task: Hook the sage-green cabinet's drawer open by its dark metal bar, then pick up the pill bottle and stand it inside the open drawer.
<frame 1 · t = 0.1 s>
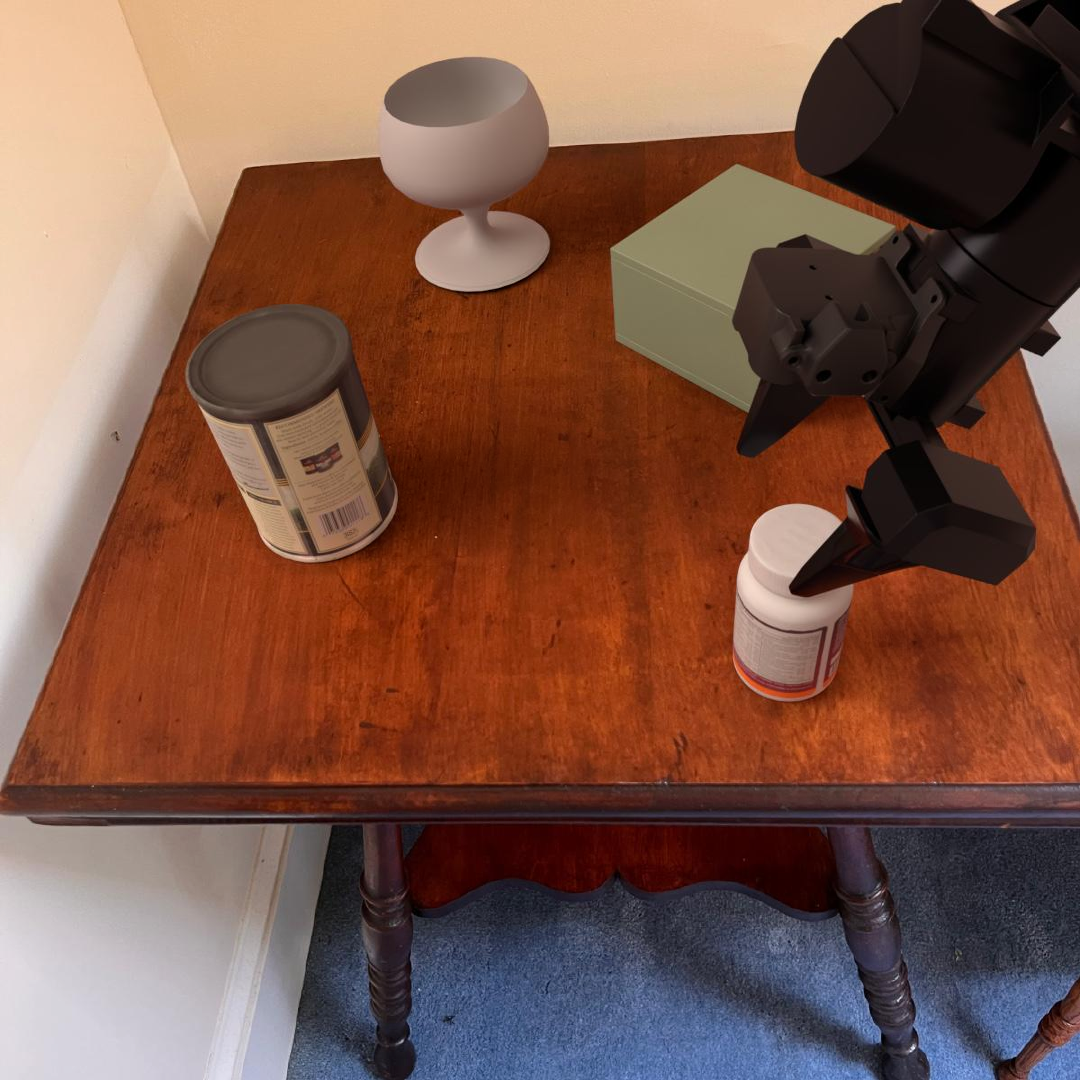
hand: (768, 519, 50), 14 cm above the table, tool tilted 35°, fingers open, 9 cm apart
drawer: (802, 311, 76), point 4 cm above the table, slide at 1.0 cm
cabinet: (745, 331, 82), on the table
pill bottle: (783, 663, 62), on the table
coffee can: (327, 510, 74), on the table
chalice: (483, 255, 93), on the table
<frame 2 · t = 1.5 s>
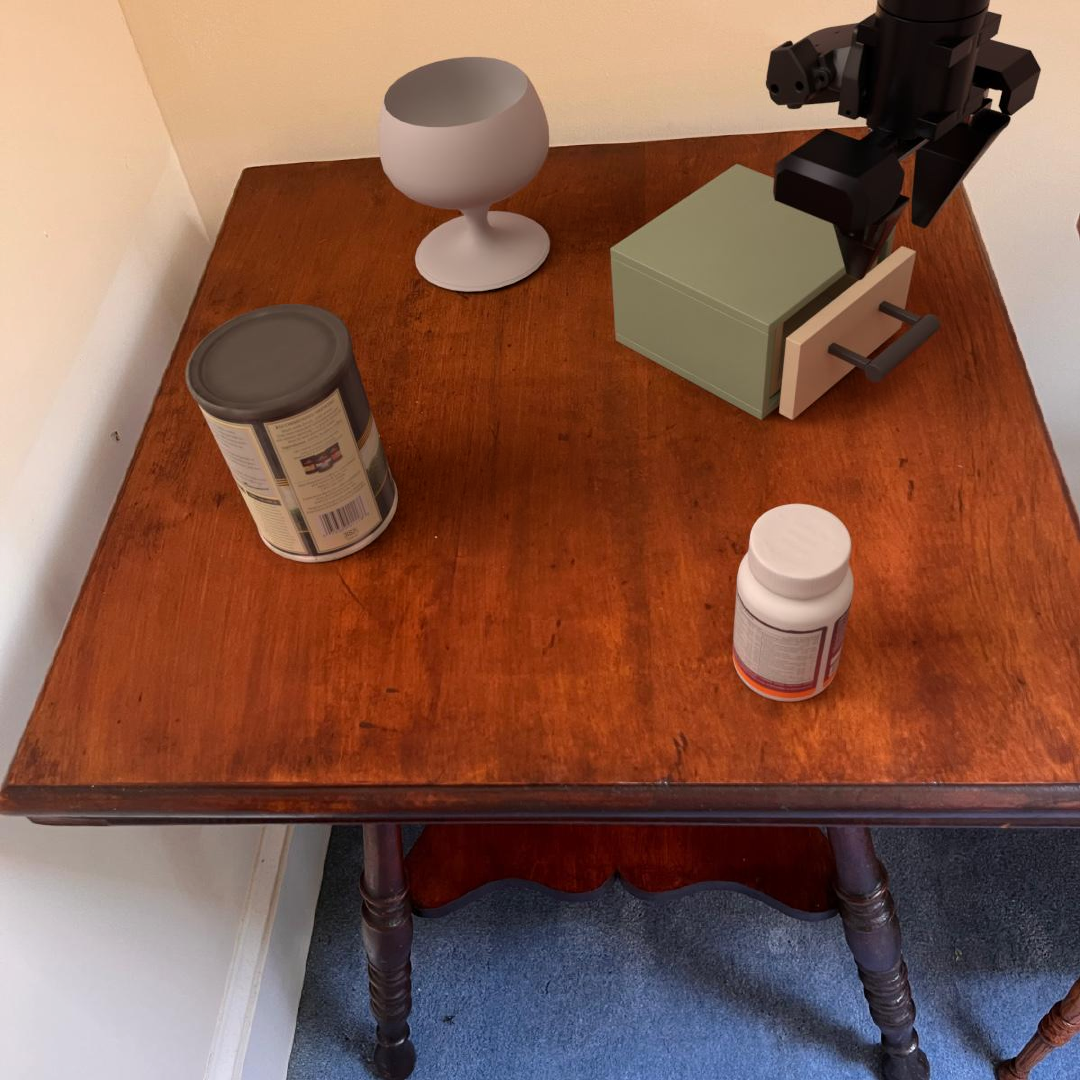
hand: (888, 250, 67), 12 cm above the table, tool pointing down, fingers open, 7 cm apart
nothing on the table moved.
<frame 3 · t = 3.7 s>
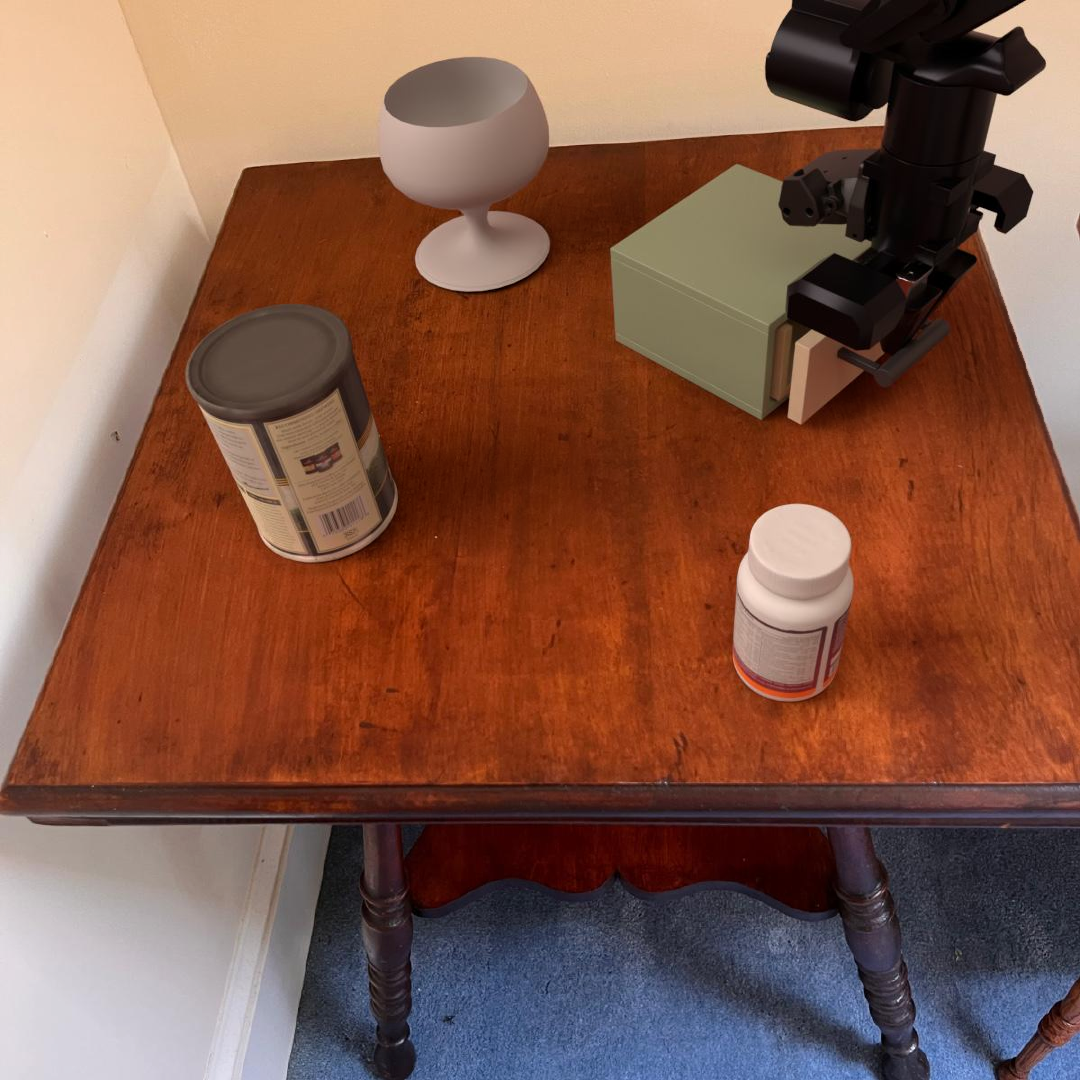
hand: (891, 351, 72), 4 cm above the table, tool pointing down, fingers closed
drawer: (811, 315, 76), point 4 cm above the table, slide at 1.8 cm
everything else where it was.
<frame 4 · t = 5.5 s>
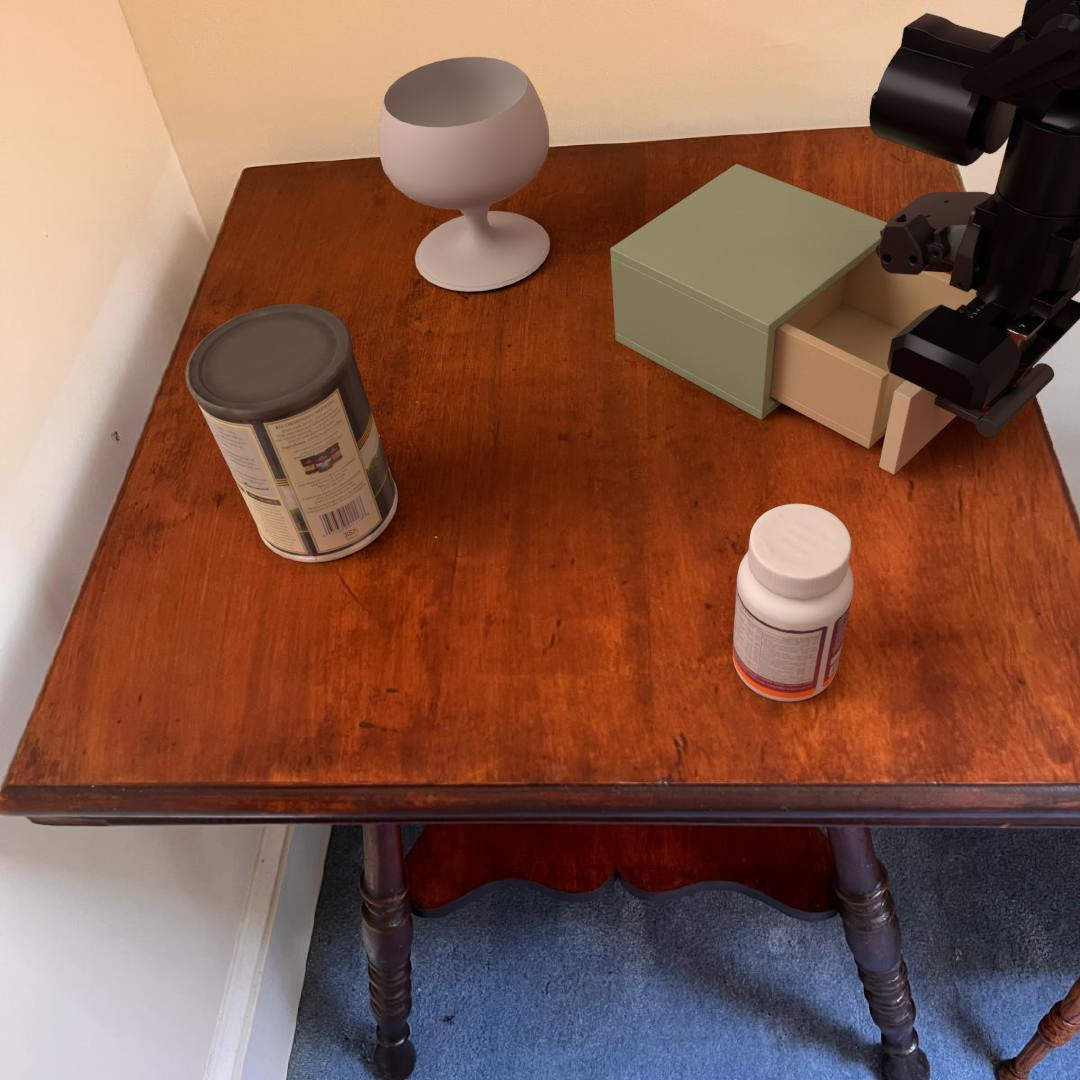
hand: (987, 401, 68), 4 cm above the table, tool pointing down, fingers closed
drawer: (901, 357, 72), point 4 cm above the table, slide at 9.3 cm, touching gripper
everything else where it was.
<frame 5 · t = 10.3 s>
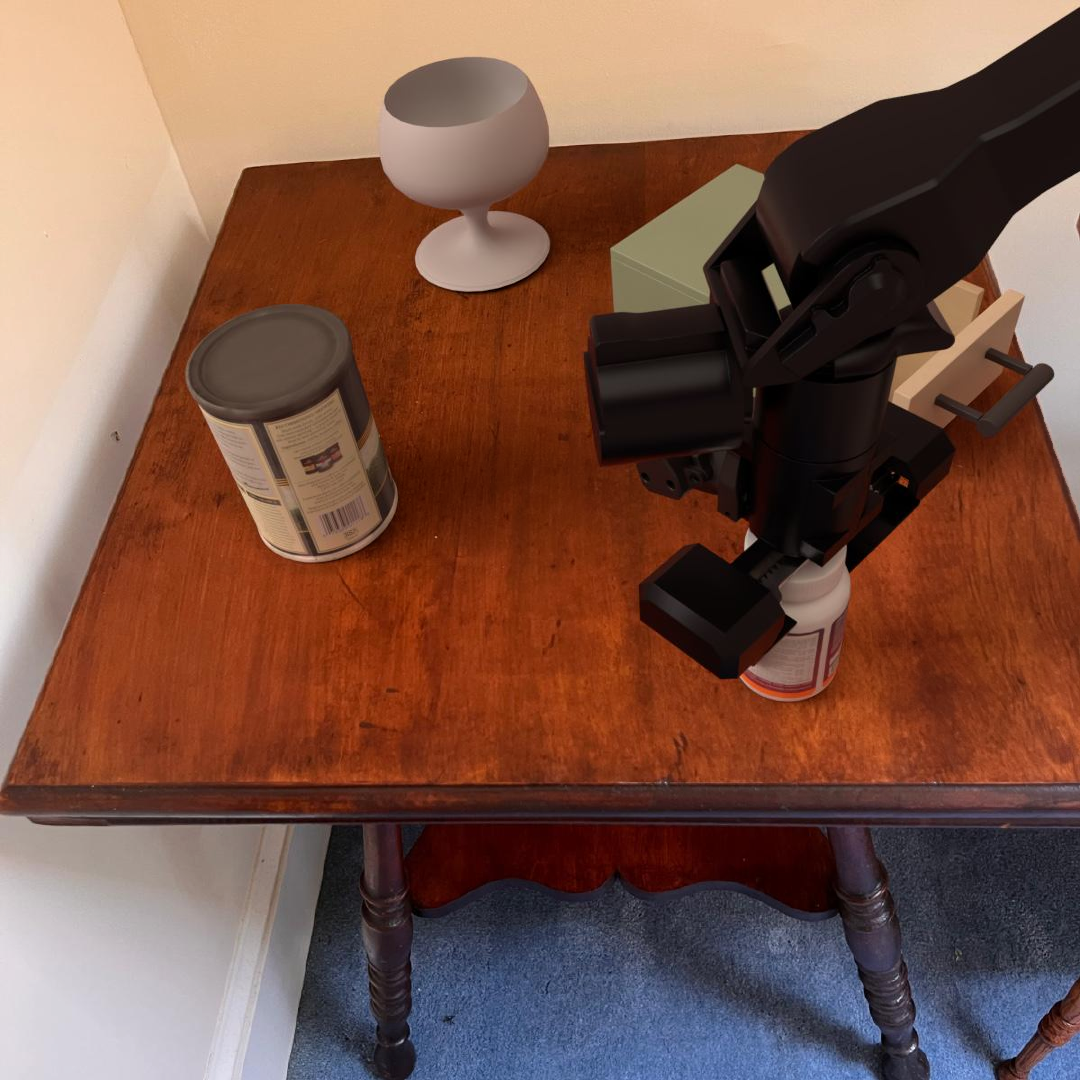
hand: (786, 622, 59), 4 cm above the table, tool pointing down, fingers closed on pill bottle, 7 cm apart
drawer: (901, 357, 72), point 4 cm above the table, slide at 9.3 cm
pill bottle: (783, 662, 62), on the table, touching gripper
everything else where it was.
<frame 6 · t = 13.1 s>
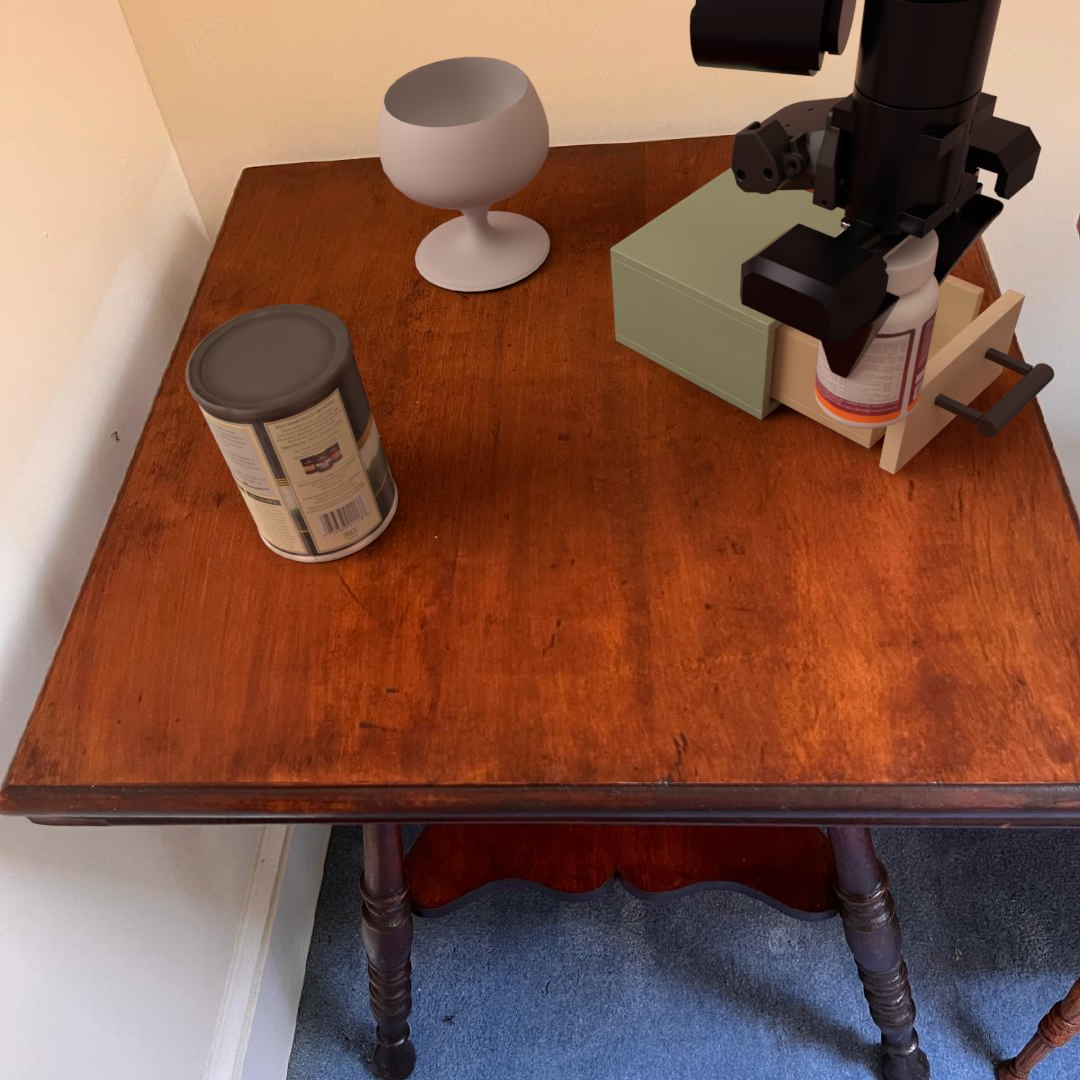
hand: (872, 345, 60), 13 cm above the table, tool pointing down, fingers closed on pill bottle, 6 cm apart
pill bottle: (865, 399, 63), point 9 cm above the table, touching gripper
everything else where it was.
when the fingers open (6 cm above the table, at t = 17.0 s): pill bottle stays where it is, resting on drawer.
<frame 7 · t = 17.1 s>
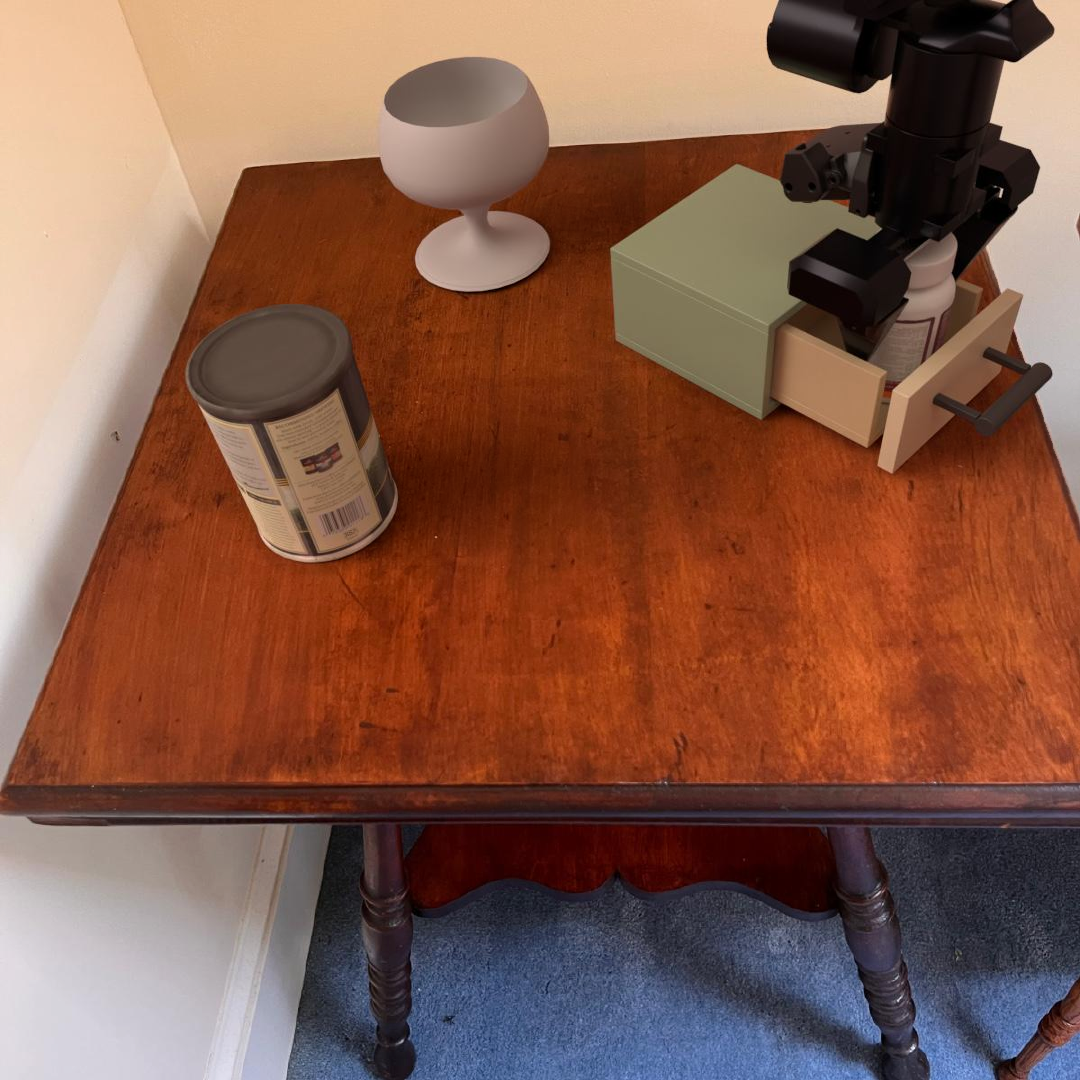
hand: (895, 332, 71), 6 cm above the table, tool pointing down, fingers open, 8 cm apart
drawer: (899, 356, 72), point 4 cm above the table, slide at 9.2 cm, touching pill bottle
pill bottle: (887, 380, 74), point 2 cm above the table, touching drawer
everything else where it was.
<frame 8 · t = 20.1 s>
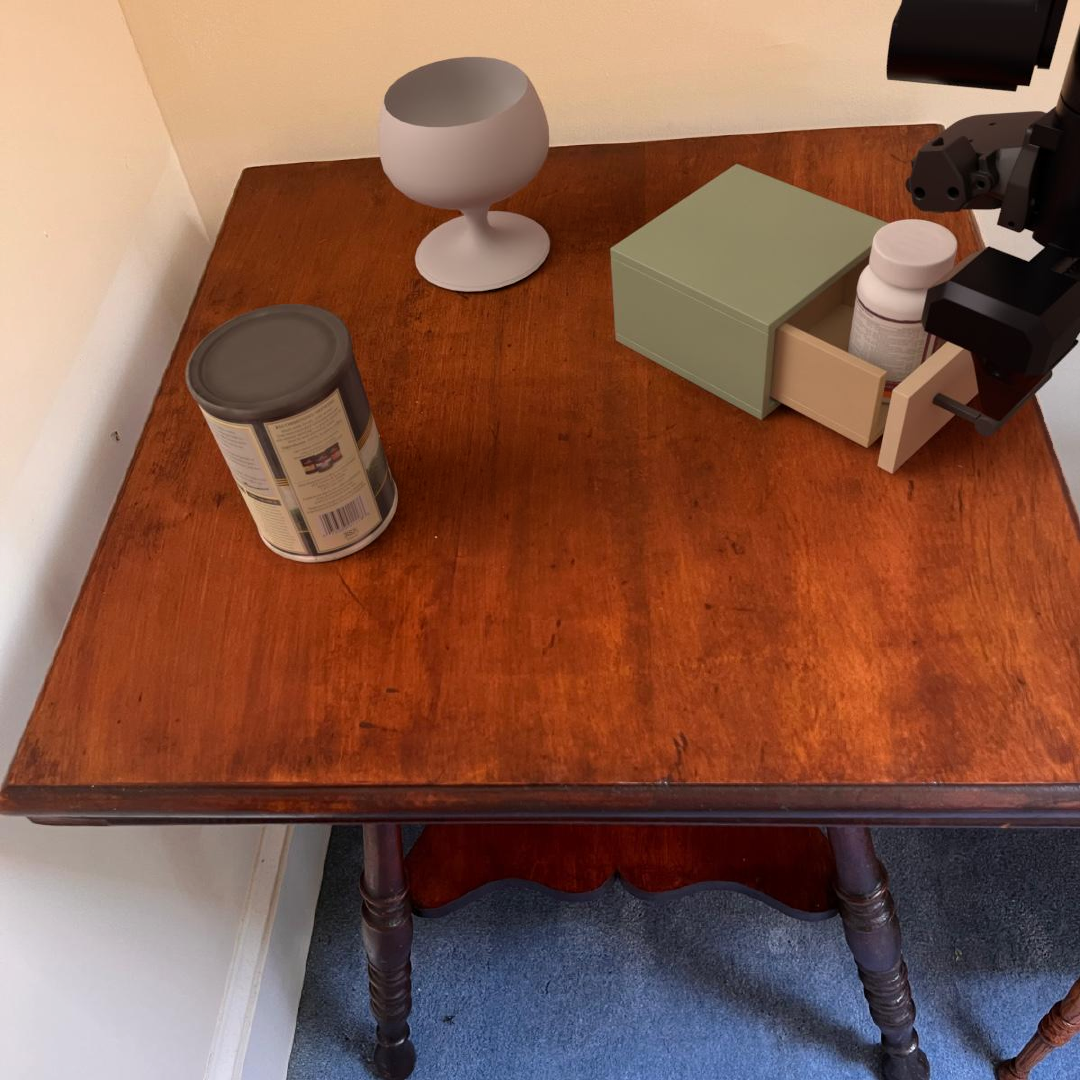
hand: (1037, 372, 57), 13 cm above the table, tool pointing down, fingers open, 9 cm apart
nothing on the table moved.
at the end: drawer slide at 9.2 cm; pill bottle inside the target area in the drawer (0.5 cm from its centre), point 1.8 cm above the cabinet's base; pill bottle tilted 0° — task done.
